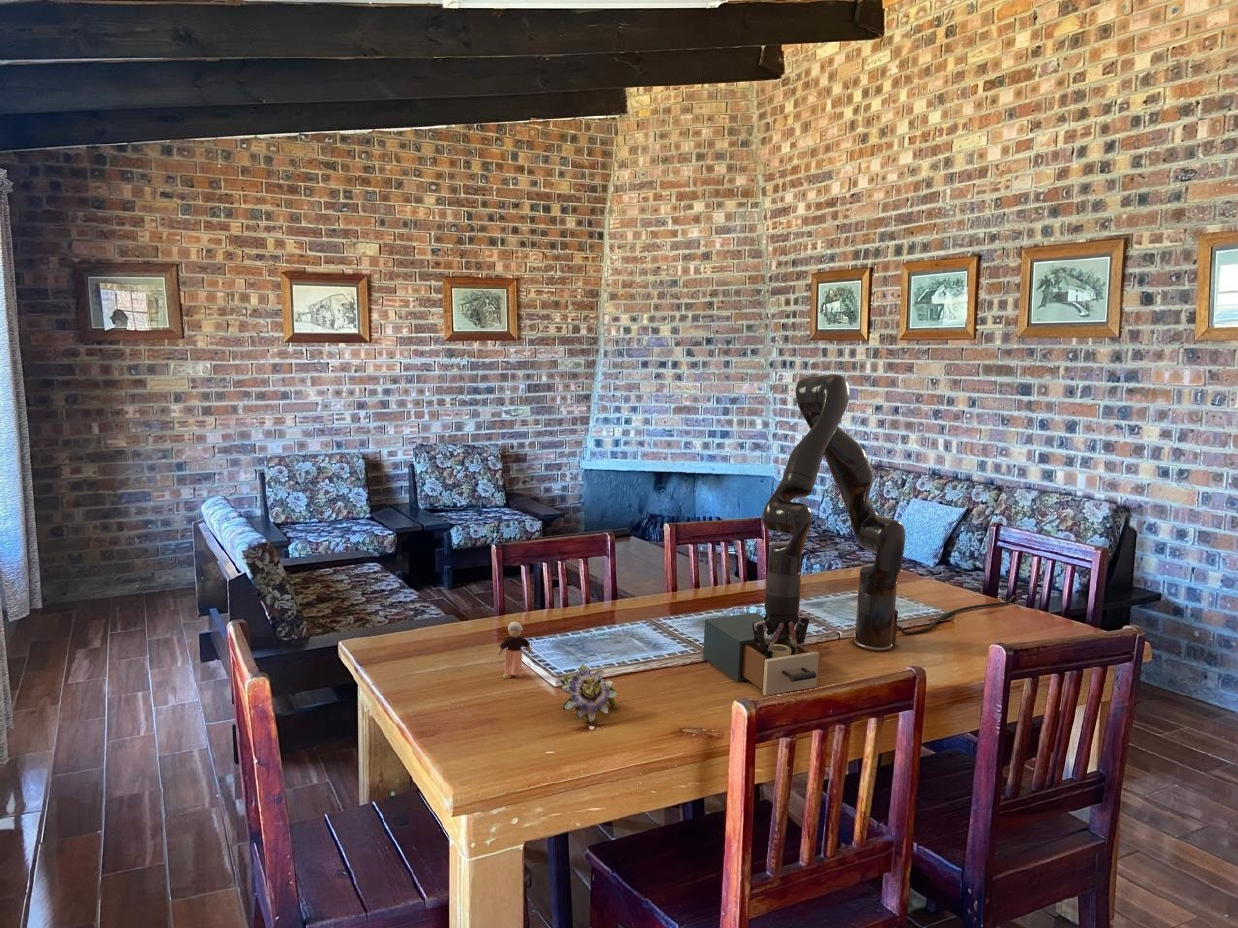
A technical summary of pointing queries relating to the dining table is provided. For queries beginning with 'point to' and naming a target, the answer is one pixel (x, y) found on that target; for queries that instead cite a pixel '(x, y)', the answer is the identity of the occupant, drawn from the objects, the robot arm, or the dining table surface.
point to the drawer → (779, 669)
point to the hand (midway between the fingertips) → (778, 663)
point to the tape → (780, 651)
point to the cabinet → (729, 641)
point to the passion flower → (588, 693)
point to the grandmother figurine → (513, 650)
